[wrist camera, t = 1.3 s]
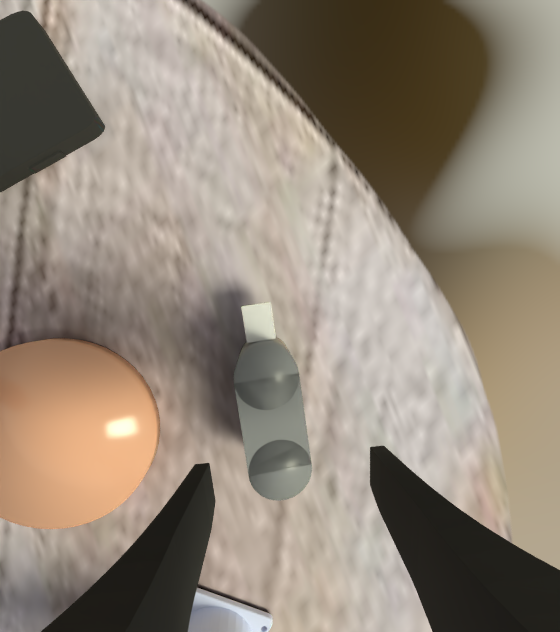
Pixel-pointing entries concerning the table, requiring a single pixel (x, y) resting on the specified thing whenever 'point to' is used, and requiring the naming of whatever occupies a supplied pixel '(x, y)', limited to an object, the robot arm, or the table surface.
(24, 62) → the smart home device
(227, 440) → the table surface
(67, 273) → the table surface
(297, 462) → the connector
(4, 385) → the plate
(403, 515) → the robot arm
